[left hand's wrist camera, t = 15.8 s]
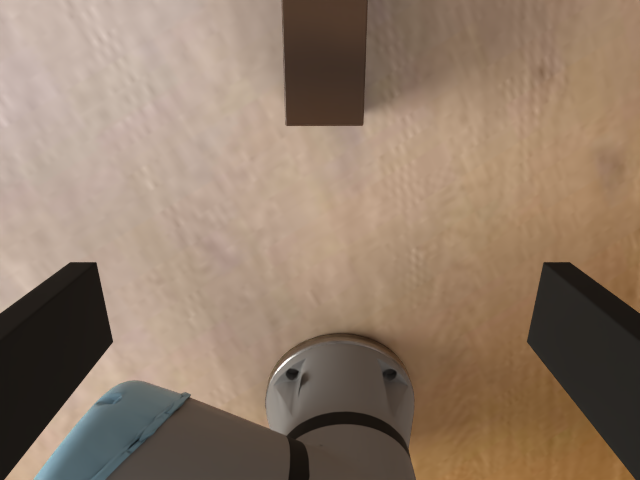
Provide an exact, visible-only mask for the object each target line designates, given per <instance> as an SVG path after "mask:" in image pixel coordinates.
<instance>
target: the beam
mask: <svg viewBox="0 0 640 480" xmlns="http://www.w3.org/2000/svg"><path fill="white" fill-rule="evenodd" d="M367 4H368V0H282V28H283V61H284V94H285V125H286V126H362V125H363V119H364V90H365V62H366V33H367Z"/></svg>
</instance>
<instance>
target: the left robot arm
mask: <svg viewBox="0 0 640 480" xmlns="http://www.w3.org/2000/svg"><path fill="white" fill-rule="evenodd" d="M112 343H113V339H112V335H111V330H110V325H109V320H108V316H107V311H106V306H105V301H104V297H103V292H102V287H101V282H100V277H99V273H98V268H97V263H96V262H70V263H69V264H67V265H66V266H65V267H63V268H62V269H61V270H59V271H58V272H56V273H55V274H54V275H52V276H51V277H50V278H48V279H47V280H45V281H44V282H43V283H41V284H40V285H39V286H37V287H36V288H35V289H33V290H32V291H30V292H29V293H28V294H26V295H25V296H24V297H22V298H21V299H19V300H18V301H17V302H15V303H14V304H13V305H11V306H10V307H9V308H7V309H6V310H4V311H3V312H2V313H0V480H4V479H5V478H6V477H7V476H8V474H9V473H10V472H11V470H12V469H13V468H14V467H15V465H16V464H17V463H18V462H19V460H20V459H21V458H22V457H23V455H24V454H25V453H26V451H27V450H28V449H29V448H30V446H31V445H32V444H33V443H34V441H35V440H36V439H37V438H38V436H39V435H40V434H41V432H42V431H43V430H44V429H45V427H46V426H47V425H48V424H49V422H50V421H51V420H52V419H53V417H54V416H55V415H56V413H57V412H58V411H59V410H60V408H61V407H62V406H63V405H64V403H65V402H66V401H67V400H68V398H69V397H70V396H71V394H72V393H73V392H74V391H75V389H76V388H77V387H78V386H79V384H80V383H81V382H82V381H83V379H84V378H85V377H86V375H87V374H88V373H89V372H90V370H91V369H92V368H93V367H94V365H95V364H96V363H97V362H98V360H99V359H100V358H101V356H102V355H103V354H104V353H105V351H106V350H107V349H108V348H109V346H110V345H111V344H112ZM527 343H528V344H529V345H530V346H531V348H532V349H533V350H534V351H535V353H536V354H537V355H538V356H539V358H540V359H541V360H542V362H543V363H544V364H545V365H546V367H547V368H548V369H549V370H550V372H551V373H552V374H553V375H554V377H555V378H556V379H557V381H558V382H559V383H560V384H561V386H562V387H563V388H564V389H565V391H566V392H567V393H568V394H569V396H570V397H571V398H572V400H573V401H574V402H575V403H576V405H577V406H578V407H579V408H580V410H581V411H582V412H583V413H584V415H585V416H586V417H587V419H588V420H589V421H590V422H591V424H592V425H593V426H594V427H595V429H596V430H597V431H598V432H599V434H600V435H601V436H602V438H603V439H604V440H605V441H606V443H607V444H608V445H609V446H610V448H611V449H612V450H613V451H614V453H615V454H616V455H617V457H618V458H619V459H620V460H621V462H622V463H623V464H624V465H625V467H626V468H627V469H628V470H629V472H630V473H631V474H632V476H633V477H634V478H635V479H636V480H640V313H638V312H637V311H636V310H634V309H633V308H631V307H630V306H629V305H627V304H626V303H625V302H623V301H622V300H621V299H619V298H618V297H616V296H615V295H614V294H612V293H611V292H610V291H608V290H607V289H605V288H604V287H603V286H601V285H600V284H599V283H597V282H596V281H595V280H593V279H592V278H590V277H589V276H588V275H586V274H585V273H584V272H582V271H581V270H579V269H578V268H577V267H575V266H574V265H573V264H571V263H570V262H544V263H543V268H542V273H541V277H540V282H539V287H538V292H537V297H536V301H535V306H534V311H533V316H532V320H531V325H530V330H529V335H528V339H527ZM190 396H191V394H188V393H186V392H185V393H182V394H180V393H177V392H174V391H171V390H168V389H165V388H162V387H159V386H156V385H153V384H150V383H147V382H143V381H127V382H124V383H121V384H119V385H117V386H115V387H113V388H112V389H111V390H109V391H108V392H107V393H105V394H104V395H103V396H102V397H101V398H100V399H99V400H98V401H97V402H96V403H95V404H94V405H93V406H92V407H91V408H90V409H89V410H88V412H87V413H86V414H85V415H84V416H83V417H82V418H81V420H80V421H79V422H78V423H77V424H76V425H75V427H74V428H73V429H72V430H71V431H70V433H69V434H68V435H67V436H66V438H65V439H64V440H63V441H62V443H61V444H60V445H59V447H58V448H57V449H56V450H55V452H54V453H53V454H52V455H51V457H50V458H49V459H48V461H47V462H46V463H45V465H44V466H43V467H42V469H41V470H40V471H39V473H38V474H37V475H36V477H35V478H34V479H33V480H416V478H415V474H414V470H413V466H412V463H411V458H410V454H409V449H408V448H409V442H410V435H411V428H412V421H413V414H414V392H413V388H412V384H411V381H410V378H409V375H408V372H407V370H406V368H405V366H404V365H403V363H402V362H401V360H400V359H399V358H398V357H397V356H396V355H395V354H394V353H393V352H392V351H391V350H389V349H388V348H387V347H385V346H384V345H382V344H380V343H378V342H376V341H374V340H371V339H369V338H365V337H362V336H357V335H351V334H330V335H323V336H319V337H315V338H312V339H309V340H307V341H304V342H302V343H300V344H298V345H297V346H295V347H294V348H292V349H291V350H289V351H288V352H287V353H286V354H285V355H284V356H283V357H282V358H281V359H280V360H279V361H278V363H277V364H276V366H275V367H274V369H273V371H272V373H271V375H270V378H269V382H268V387H267V392H266V403H265V405H266V414H267V419H268V423H269V427H270V429H268V428H266V427H263V426H261V425H258V424H256V423H253V422H251V421H248V420H246V419H243V418H241V417H238V416H235V415H233V414H230V413H228V412H225V411H223V410H220V409H218V408H215V407H213V406H210V405H208V404H205V403H202V402H200V401H197V400H195V399H192V398H190Z"/></svg>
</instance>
